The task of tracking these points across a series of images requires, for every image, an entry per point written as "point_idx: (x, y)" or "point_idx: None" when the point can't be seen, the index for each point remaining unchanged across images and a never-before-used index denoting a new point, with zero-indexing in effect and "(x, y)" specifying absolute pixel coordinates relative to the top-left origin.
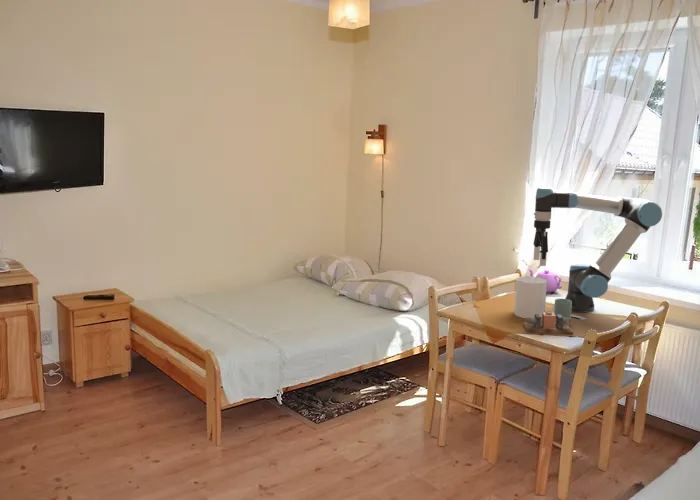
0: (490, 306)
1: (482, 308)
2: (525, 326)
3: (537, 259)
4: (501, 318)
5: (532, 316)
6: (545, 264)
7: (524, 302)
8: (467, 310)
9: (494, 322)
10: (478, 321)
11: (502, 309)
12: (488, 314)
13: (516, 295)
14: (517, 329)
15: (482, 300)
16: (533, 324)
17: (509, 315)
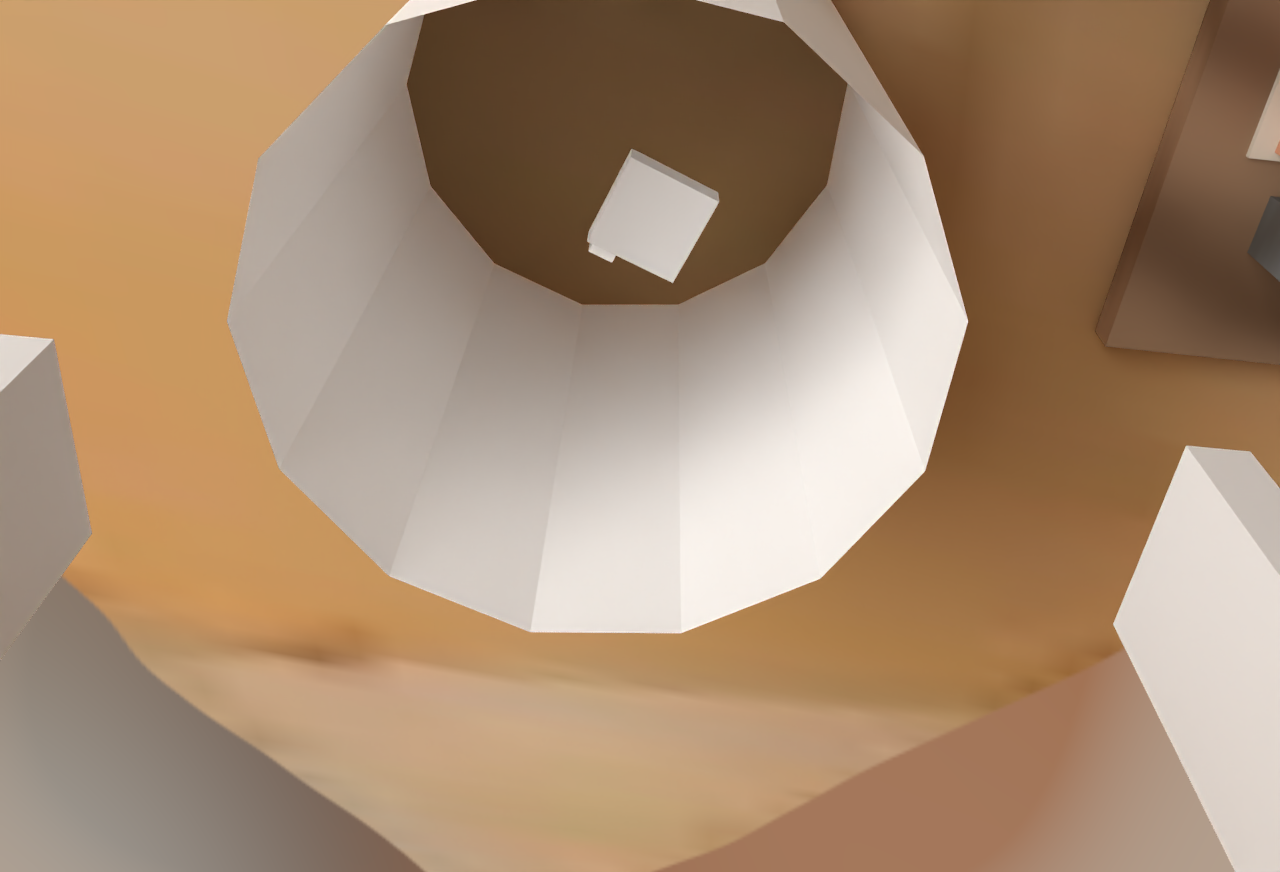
0: (287, 503)
1: (395, 601)
2: (1230, 354)
3: (54, 423)
4: None
5: (841, 140)
6: (1275, 497)
7: (804, 340)
8: (496, 744)
9: (945, 602)
10: (892, 727)
11: None
12: None
13: (618, 447)
14: (1244, 443)
15: None
16: (1215, 246)
17: None
